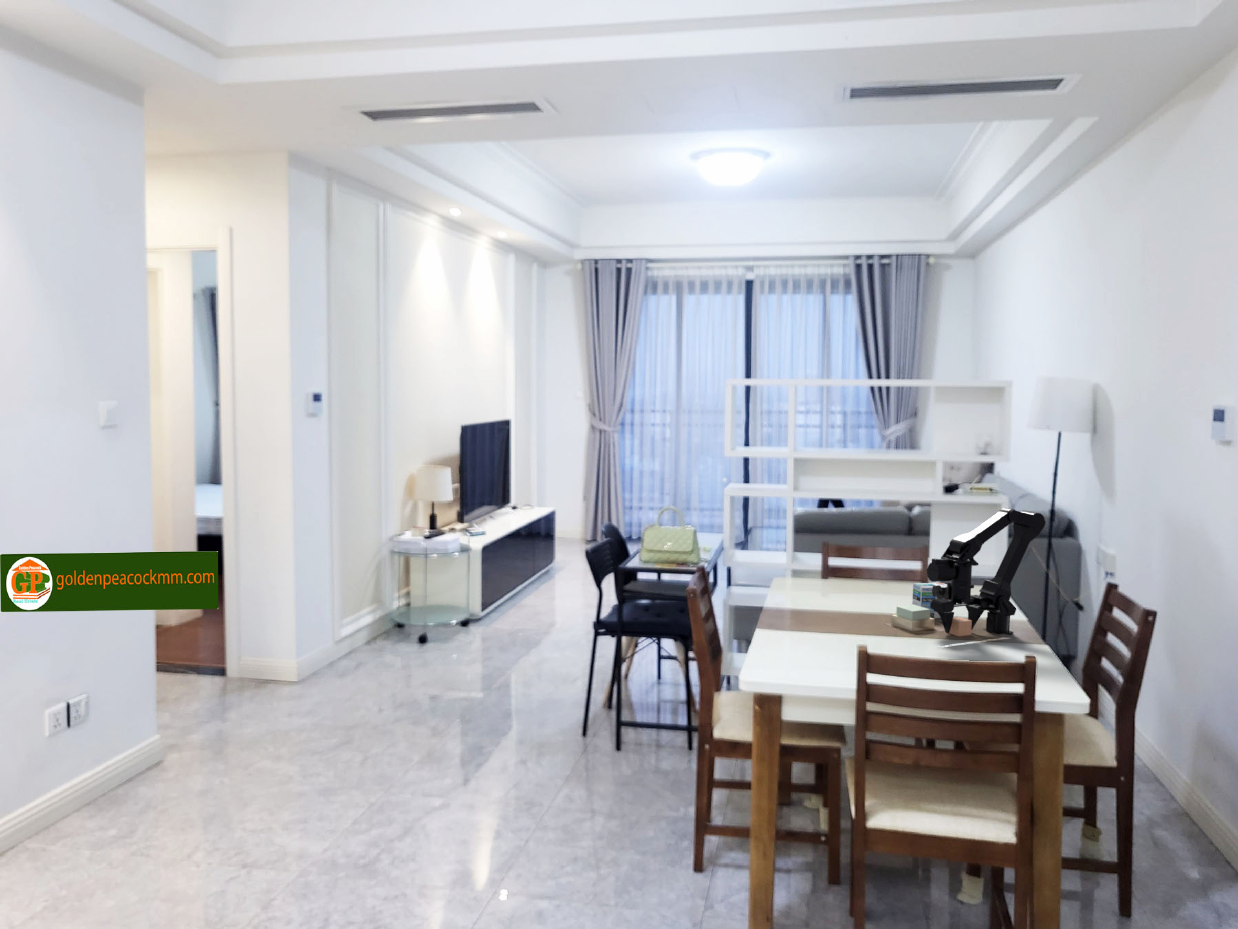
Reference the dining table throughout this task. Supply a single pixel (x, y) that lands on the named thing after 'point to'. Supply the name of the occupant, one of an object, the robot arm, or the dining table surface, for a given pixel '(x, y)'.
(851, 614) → the dining table surface
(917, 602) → the light bulb box
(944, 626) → the robot arm
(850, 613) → the dining table surface
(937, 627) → the walnut board
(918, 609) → the sage block
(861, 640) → the dining table surface
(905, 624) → the beech slab
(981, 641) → the dining table surface
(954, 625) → the terracotta cube
